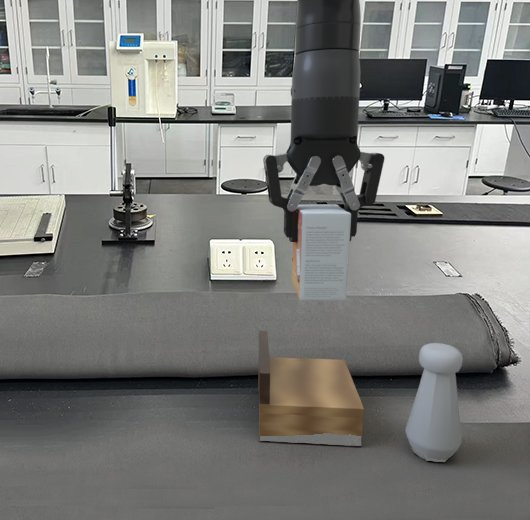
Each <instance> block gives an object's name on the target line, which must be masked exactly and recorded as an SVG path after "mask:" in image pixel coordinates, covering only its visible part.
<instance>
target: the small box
mask: <svg viewBox="0 0 530 520" xmlns="http://www.w3.org/2000/svg"><path fill="white" fill-rule="evenodd" d="M296 211H298V212H299V213H298V241H297V242H293V258H292V261H291V262H292V263H291V283H292V285H293V287H294V290H295V293H296V296H297V298H298V301H300V302H346V300H347V297H348V296H347V295H348V277H349V262H350V261H349V260H350V259H349V258H350V245H351V241H350V227H351V213H350V212H347V211H345V210H344V208H342V207H341V206H340V205H339V204H333V203H332V204H331V203H329V204H328V203H327V204H324V203H323V204H321V203H320V204H319V203H318V204H317V203H316V204H315V203H314V204H313V203H311V204H308V203H307V204H300V203H299V205H298V207H297V209H296Z"/></svg>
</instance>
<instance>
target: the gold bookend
mask: <svg viewBox="0 0 530 520" xmlns="http://www.w3.org/2000/svg"><path fill="white" fill-rule="evenodd" d="M268 333H269V332H268V330H258V372H257V373H258V374H257V375H258V376H257V377H258V378H257V381H258V382H257V393H258V437H259V436H294V435H314V434H323V433H331V434H338V435H349V434H351V435H356V436H362V437H363V431H364V418H365V407H364V405H363V402H362V400H361V397H360V395H359V393H358V390H357V388H356V384H355V383H354V379H353V377H352V375H351V372H350V371H349V368H348V365H347V363H346V360H345V359H333V358H306V357H305V358H304V357H303V358H301V357H272V356H270V348H269V346H270V345H269V334H268Z"/></svg>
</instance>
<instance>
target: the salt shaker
mask: <svg viewBox="0 0 530 520" xmlns="http://www.w3.org/2000/svg"><path fill="white" fill-rule="evenodd" d="M418 362H419V365H420V366H421V367H422V368H423V371H422V374H421V378H420V381H419V385H418V389H417V392H416V395H415V398H414V400H413V403H412V407H411V411H410V414H409V416H408V420H407V423H406V426H405V435H406V438H407V440H408V443H409V446H410V445H411V446H413V447H414V448H415V449H416V450H417V451H418V452H419V453H421V454H423V455H424V456H425V457H427V458H433V459H437V460H441V459H442V460H447V459H448V458H449V457H451V456H453V455H454V454H455V453H456V452H457V451H458V450H459V449H460V446H461V444H462V442H463V441H462V440H463V435H462V424H461V416H460V407H459V396H458V386H457V376H456V375H457V374H456V373H459V371H460V370H461V368H462V366H463V362H464V359H463V353H461V351H460V350H459V349H458V348H457V347H455V346H452V345H450V344H446V343H440V342H430V343H426V344H424V345H423V346H421V348H420V349H419V353H418ZM411 446H410V447H411ZM451 458H452V457H451Z"/></svg>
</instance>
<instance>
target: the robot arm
mask: <svg viewBox="0 0 530 520" xmlns="http://www.w3.org/2000/svg"><path fill="white" fill-rule="evenodd" d="M296 1H297V3H296V16H295V17H296V19H295V28H294V29H295V35H294V36H295V37H294V38H295V39H294V62H293V68H292V75H291V87H290V97H291V103H290V104H291V106H290V110H291V111H290V142H289V146H288V148H287V150H286V152H284V153H279V154H273V155H272V154H266V155H265V156H264V157H263V159H262V160H263V161H262V163H263V169H264V176H265V181H266V182H265V183H266V189H267V195H268V201H269V203H270V204H271V205H273V206H274V207H278V208H279V209H282V210H283V233H284V236H285V238H289V241H290V242H297V241H298V213H299V212H298V211H296V209H297V207H298V205H300V203H301V201H302V199H303V197H304V196H305V194H306V193H307V191H308V189H309V187H319V186H322V185H326V186H330V187H331V186H334V187H335V189H336V190H337V192H338V194H339V196H340V198H341V201H342V204H343V205H344V206H343V207H344V208H343V209H344V210H345V211H347V212H350V213H351V227H350V242H351V241H352V239H353V237H356V235H357V232H358V214H359V210H360V209H361V208H363V207H366V206H368V205H369V206H371V205H374V204H375V202H376V199H377V194H378V191H379V187H380V181H381V177H382V173H383V167H384V164H385V155H384V154H383V153H381V152H380V153H379V152H364V151H361V149H360V147H359V144H358V134H359V111H360V92H361V61H360V45H361V29H362V27H361V23H362V22H361V19H362V17H361V16H362V15H361V13H362V12H361V2H360V0H296ZM358 162H360V168H361V169H362V170H363V176H362V180H361V184H360V189H359V194H357V193H356V191H355V186H354V184H353V181H352V178H351V177H350V173H351V171H352V170H353V168H355V166H356V165H357V163H358ZM286 163H288V164H289V166H290V167H291V169H292V170H293V172H294V173H295V176H294V179H293V180H292V182H291V184H290V187H289V191H288V192H287V195H286V197H284V196H283V195H282V190H281V189H282V188H281V183H280V175H279V174H280V173H282V172H283V171H284V165H285V164H286Z"/></svg>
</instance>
